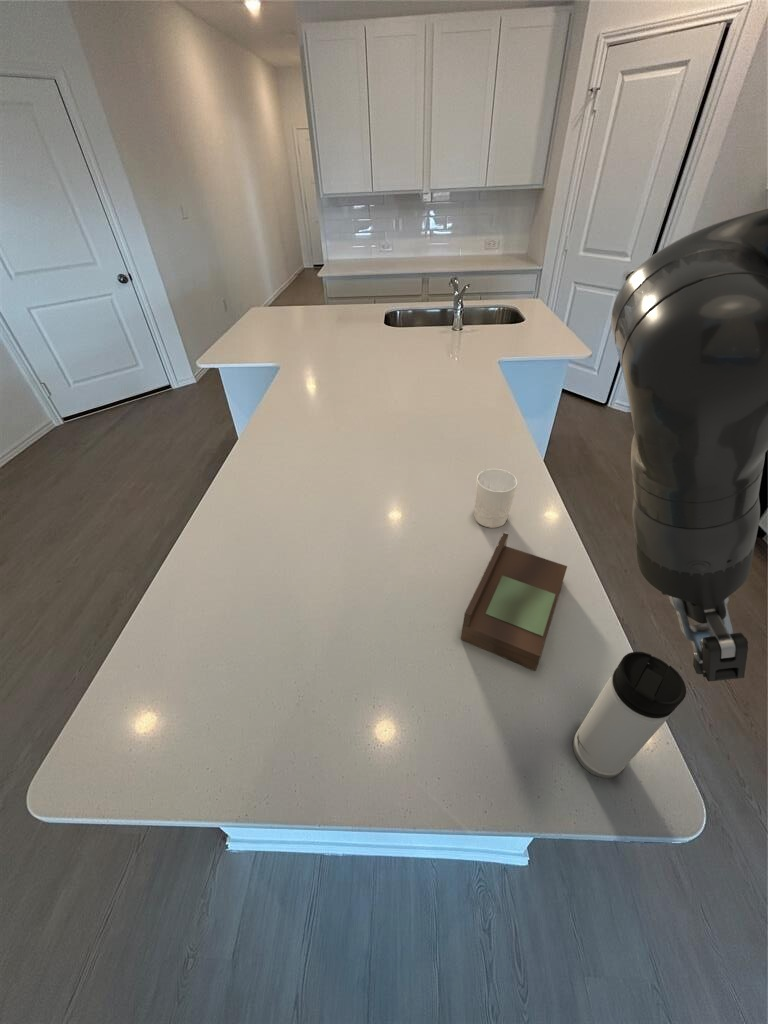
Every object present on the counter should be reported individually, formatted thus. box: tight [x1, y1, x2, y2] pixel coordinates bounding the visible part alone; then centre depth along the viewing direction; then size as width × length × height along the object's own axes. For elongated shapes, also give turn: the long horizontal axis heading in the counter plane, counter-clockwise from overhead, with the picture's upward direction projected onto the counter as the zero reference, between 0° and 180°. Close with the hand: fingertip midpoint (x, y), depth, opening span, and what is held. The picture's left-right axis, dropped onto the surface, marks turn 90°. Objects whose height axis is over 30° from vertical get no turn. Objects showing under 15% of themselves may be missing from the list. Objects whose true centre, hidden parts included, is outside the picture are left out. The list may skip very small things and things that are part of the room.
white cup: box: [474, 468, 518, 529], centre depth 90 cm, size 8×8×10 cm
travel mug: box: [572, 651, 687, 779], centre depth 51 cm, size 6×7×20 cm
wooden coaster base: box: [460, 532, 568, 671], centre depth 73 cm, size 12×20×7 cm, turn 152°
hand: (689, 627), depth 43 cm, fingers open, 8 cm apart
